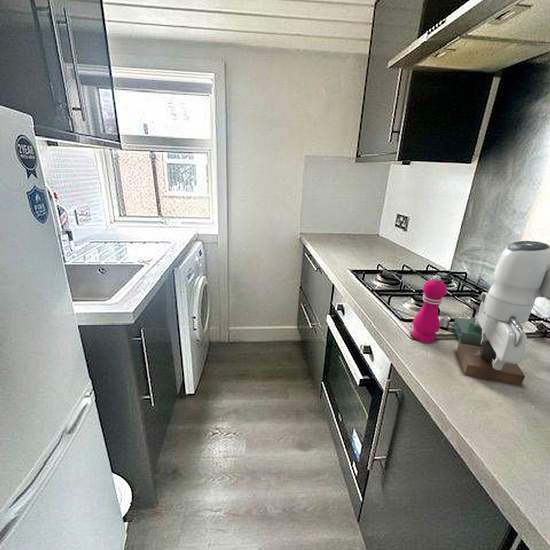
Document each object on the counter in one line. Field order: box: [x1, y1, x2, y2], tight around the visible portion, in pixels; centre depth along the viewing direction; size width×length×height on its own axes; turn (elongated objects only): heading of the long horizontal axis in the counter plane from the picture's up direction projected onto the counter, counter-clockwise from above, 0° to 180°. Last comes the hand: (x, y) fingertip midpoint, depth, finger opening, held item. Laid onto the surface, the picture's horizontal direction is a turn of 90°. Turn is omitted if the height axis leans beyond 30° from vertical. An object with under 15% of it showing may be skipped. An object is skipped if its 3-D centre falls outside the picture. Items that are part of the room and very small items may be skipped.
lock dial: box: [481, 340, 497, 362], centre depth 76 cm, size 4×4×4 cm
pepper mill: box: [411, 274, 448, 343], centre depth 87 cm, size 7×7×20 cm
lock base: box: [456, 342, 526, 387], centre depth 78 cm, size 12×10×3 cm
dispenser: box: [452, 316, 482, 347], centre depth 91 cm, size 12×10×5 cm
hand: (490, 356), depth 77 cm, fingers open, 8 cm apart
